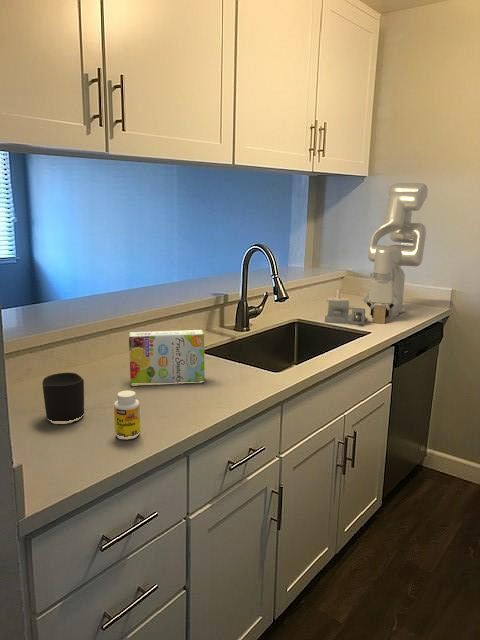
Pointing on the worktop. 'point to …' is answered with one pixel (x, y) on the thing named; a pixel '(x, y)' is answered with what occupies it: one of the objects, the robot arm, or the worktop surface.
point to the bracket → (343, 313)
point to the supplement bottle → (127, 414)
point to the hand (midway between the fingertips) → (379, 317)
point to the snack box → (166, 356)
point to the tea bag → (394, 308)
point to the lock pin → (358, 316)
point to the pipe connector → (338, 297)
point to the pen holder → (63, 396)
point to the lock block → (379, 314)
